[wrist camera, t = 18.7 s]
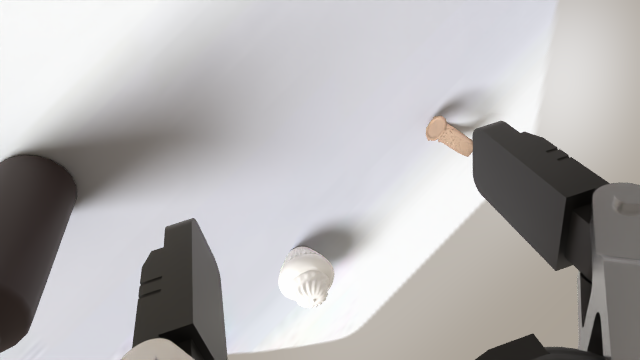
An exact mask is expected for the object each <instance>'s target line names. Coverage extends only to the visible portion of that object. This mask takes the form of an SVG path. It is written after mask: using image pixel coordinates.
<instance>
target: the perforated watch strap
mask: <svg viewBox="0 0 640 360" xmlns="http://www.w3.org/2000/svg"><path fill="white" fill-rule="evenodd" d="M450 130H451V131H450ZM444 136H445V137H444ZM426 137H427V138H428V141H429V140H431V141H435V140H437V139H439V138H440V139H439V141H438V142H442V143H444V144H445V145H447V146H448V147H450V148H451V149H453V150H455V151H456V152H458V153H460V154H462V155H464V156H467V157H468V156H469V155H470V154H471V153H472V152H473V141H472V140H471V139H469V138H468V137H467V136H465V135H464V134H463V133H461V132H460V131H458V130H457V129H455V128H454V127H452V126H451V125H449V124H447V122H446V119H445V118H444V117H442V116H438V117H436V116H435V117H434V118H433V120H431V122H430V123H429V125H428V126H427V128H426ZM442 139H443V140H442ZM447 142H448V143H447Z"/></svg>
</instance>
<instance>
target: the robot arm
mask: <svg viewBox="0 0 640 360" xmlns="http://www.w3.org/2000/svg"><path fill="white" fill-rule="evenodd" d="M473 178H474V182H475V184H476V187H477V189H478V191H479V192H480V194H481V195H482V196H483V197H484V198H485V199H486V200H487V201H488V202H489V203H490V204H491V205H492V206H493V207H494V208H495V209H496V210H497V211H498V212H499V213H500V214H501V215H502V216H503V217H504V218H505V219H506V220H507V221H508V222H509V223H510V224H511V226H512V227H514V229H515V230H516V231H517V232H518V233H519V234H520V235H521V236H522V237H523V238H524V239H525V240H526V241H527V242H528V243H529V244H530V245H531V246H532V247H533V248H534V249H535V250H536V251H537V252H538V253H539V254H540V255H541V256H542V257H543V258H544V259H545V260H546V261H547V262H548V263H549V265H551V267H552V268H553V269H554V270H555V271H557V270H560V269H563V268H566V267H569V266H571V265H574V266H575V267H576V268H577V269H578V270H579V272H578V278H577V285H578V287H577V289H578V322H579V323H578V325H579V346H578V349H573V348H565V347H543V346H542V344H541V343H540V342H539V341H538V339H537V338H536V337H535V335H534V334H530V335H528V336H525V337H523V338H520V339H517V340H514V341H511V342H508V343H506V344H503V345H500V346H497V347H495V348H492V349H489V350H488V351H486V352H485V353H484V354H482V355H481V356H479V357H478V358H477V359H475V360H640V185H637V184H632V183H611V184H610V183H608V182H607V181H605V180H604V179H602V178H601V177H599V176H598V175H596V174H595V173H593V172H592V171H591V170H589V169H588V168H586V167H585V166H583V165H582V164H581V163H579V162H578V161H576V160H575V159H573V158H572V157H571V158H569V156H568V155H567V154H566V153H565V152H563V151H562V150H558V149H557V147H556V146H554V145H553V144H551V143H550V142H549V141H547V140H546V139H544V138H542V137H539V136H536V135H533V134H530V133H527V132H522V133H519V132H518V131H517V130H515V129H514V128H513V127H511V126H510V125H508V124H507V123H506V122H504V121H499V122H496V123H493V124H490V125H486V126H483V127H480V128H477V129H475V130H474V132H473ZM140 284H141V286H140V288H139V299H138V305H137V313H136V321H135V329H134V337H133V346H132V349H131V350H130V351H129V352H127V353H126V354H125V355H124V356H123V358H122V359H121V360H227V348H226V337H225V325H224V313H223V301H222V290H221V279H220V274H219V270H218V266H217V263H216V261H215V258H214V256H213V254H212V252H211V250H210V248H209V246H208V244H207V242H206V239H205V237H204V235H203V233H202V231H201V229H200V227H199V225H198V223H197V221H196V220H195V219H194V218H192V219H189V220H186V221H183V222H179V223H176V224H173V225H170V226H167V227H166V228H165V238H164V247H163V248H160V249H157V250H154V251H151V253H150V255H149V256H148V258H147V260H146V262H145V263H144V265H143V267H142V272H141V280H140Z"/></svg>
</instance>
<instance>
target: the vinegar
mask: <svg viewBox="0 0 640 360" xmlns="http://www.w3.org/2000/svg"><path fill="white" fill-rule="evenodd" d="M76 198H77V187H76V184H75V182H74V180H73V178H72V176H71V175H70V174H69V173H68V172H67V171H66V170H65V169H64V167H62V166H60V165H59V164H57V163H55V162H54V161H52V160H49V159H46V158H43V157H39V156H30V155H21V156H16V157H11V158H8V159H6V160H4V161H3V162H1V163H0V353H1V352H3V351H5V350H7V349H9V348H11V347H13V346H14V345H16V344H17V343H18V342H19V341H20V340H21V339H22V338H23V337H24V336H25V335H26V334H27V333H28V331H29V329H30V326H31V323H32V321H33V318H34V315H35V313H36V310H37V307H38V304H39V301H40V299H41V296H42V293H43V290H44V288H45V285H46V282H47V279H48V276H49V274H50V271H51V268H52V265H53V262H54V260H55V257H56V254H57V251H58V249H59V246H60V243H61V240H62V237H63V235H64V232H65V229H66V226H67V224H68V221H69V218H70V215H71V212H72V210H73V207H74V204H75V201H76Z"/></svg>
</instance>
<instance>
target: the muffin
mask: <svg viewBox="0 0 640 360" xmlns="http://www.w3.org/2000/svg"><path fill="white" fill-rule="evenodd" d="M333 279H334V269H333V267H332V265H331V263H330V262H329V261H328V260H327V259H326V258H325V257H323V255H321V254H319V253H318V252H316V251H314V250H312V249H310V248H309V247H304V246H303V247H301V246H300V247H297V248H295V249H292V251H290V253H288V255H287V256H286V258H285V261H284V263H283V265H282V267H281V270H280V275H279V279H278V284H279V288H280V290H281V292H282V293H283V294H284V295H285V296H286V297H287V298H289V299H292V300H295V301H297V303H298V304H299V305H300V306H303V307H305V308H313V307H314V306H315V307H317V306H318V304H322V302H323V301H325V300H326V297H327V295H328V293H327V291H328V290H329V289H330V287H331V285H332V283H333Z"/></svg>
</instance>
